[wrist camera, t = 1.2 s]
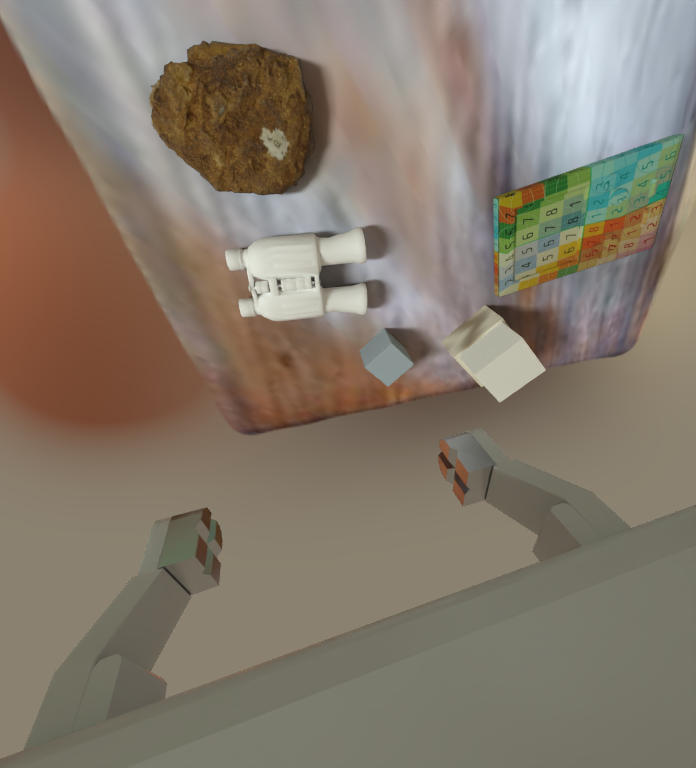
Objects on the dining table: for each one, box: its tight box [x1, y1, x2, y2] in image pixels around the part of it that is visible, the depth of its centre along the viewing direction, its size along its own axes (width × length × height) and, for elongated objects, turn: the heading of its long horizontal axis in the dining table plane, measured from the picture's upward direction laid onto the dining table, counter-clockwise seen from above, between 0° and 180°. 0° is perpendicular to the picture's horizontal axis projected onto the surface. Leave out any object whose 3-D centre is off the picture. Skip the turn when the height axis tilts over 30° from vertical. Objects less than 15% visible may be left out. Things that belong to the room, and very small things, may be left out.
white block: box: [459, 322, 545, 402], centre depth 42 cm, size 7×7×5 cm
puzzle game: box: [494, 134, 684, 297], centre depth 38 cm, size 12×5×20 cm
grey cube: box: [360, 328, 414, 386], centre depth 45 cm, size 5×5×5 cm
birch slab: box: [442, 305, 510, 387], centre depth 46 cm, size 8×8×5 cm
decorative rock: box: [149, 41, 314, 195], centre depth 30 cm, size 11×4×15 cm
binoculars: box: [225, 227, 367, 321], centre depth 38 cm, size 10×16×5 cm, turn 93°
